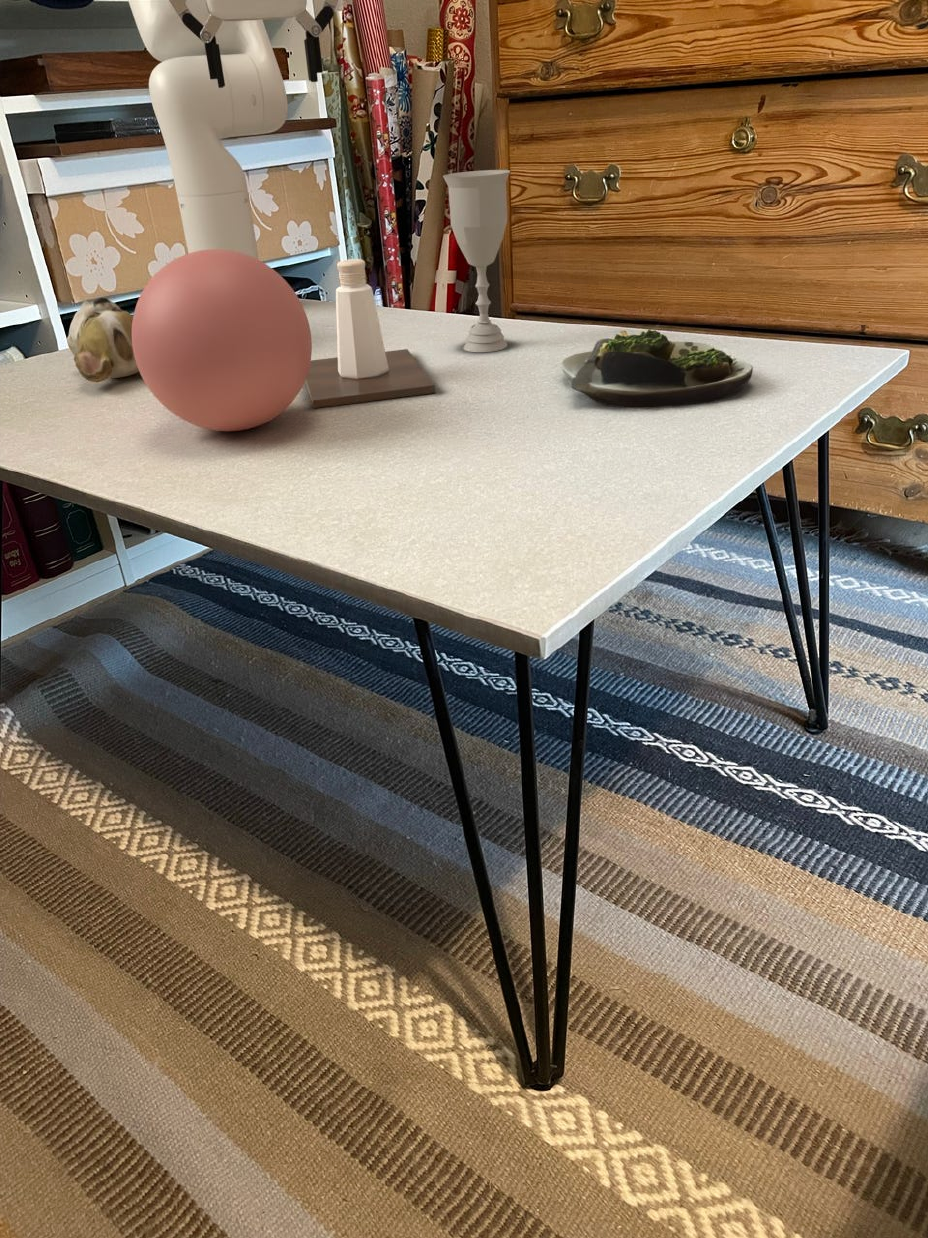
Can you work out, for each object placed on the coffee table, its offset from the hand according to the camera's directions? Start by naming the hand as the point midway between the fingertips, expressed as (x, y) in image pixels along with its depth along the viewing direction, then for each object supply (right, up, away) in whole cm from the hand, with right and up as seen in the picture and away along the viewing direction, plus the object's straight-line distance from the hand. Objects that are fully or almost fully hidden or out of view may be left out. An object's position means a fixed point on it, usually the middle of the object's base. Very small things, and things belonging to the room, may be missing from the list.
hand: (268, 84), depth 100 cm
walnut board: (+10, -32, -1) cm, 33 cm away
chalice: (+23, -26, +8) cm, 36 cm away
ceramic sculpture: (-18, -29, +8) cm, 35 cm away
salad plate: (+39, -34, -9) cm, 52 cm away
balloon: (-1, -38, -11) cm, 40 cm away
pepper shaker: (+10, -31, -1) cm, 33 cm away
